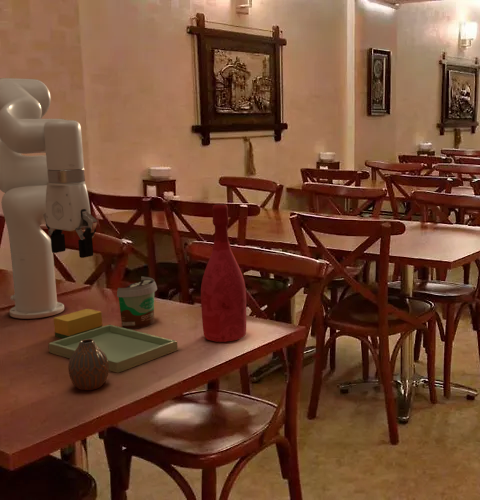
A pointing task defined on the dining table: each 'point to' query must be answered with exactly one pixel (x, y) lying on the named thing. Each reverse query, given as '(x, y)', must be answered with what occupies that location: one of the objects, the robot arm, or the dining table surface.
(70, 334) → the sponge
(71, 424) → the dining table surface
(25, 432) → the dining table surface
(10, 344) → the dining table surface
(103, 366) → the vase
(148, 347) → the tray
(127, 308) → the food container
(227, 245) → the wine bottle
